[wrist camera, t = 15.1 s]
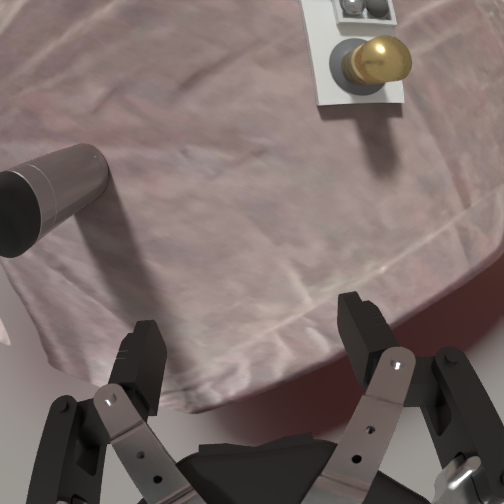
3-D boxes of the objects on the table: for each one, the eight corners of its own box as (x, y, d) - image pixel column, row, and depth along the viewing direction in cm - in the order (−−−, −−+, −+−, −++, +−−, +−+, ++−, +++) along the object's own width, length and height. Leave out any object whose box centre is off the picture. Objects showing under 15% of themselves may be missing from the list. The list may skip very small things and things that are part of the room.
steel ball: (340, 18, 30) (346, 12, 27) (336, -1, 29) (342, -8, 26) (362, 18, 30) (369, 13, 27) (358, -1, 28) (365, -7, 26)
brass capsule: (343, 86, 34) (370, 80, 25) (338, 49, 32) (363, 33, 23) (379, 85, 33) (414, 82, 24) (374, 50, 31) (407, 37, 22)
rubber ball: (365, 19, 30) (372, 13, 27) (361, -1, 28) (367, -7, 26) (385, 20, 29) (394, 15, 27) (381, 1, 28) (389, -5, 25)
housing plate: (316, 105, 37) (321, 105, 34) (297, -2, 30) (301, -11, 27) (398, 102, 36) (409, 103, 33) (380, 0, 29) (390, -8, 26)
